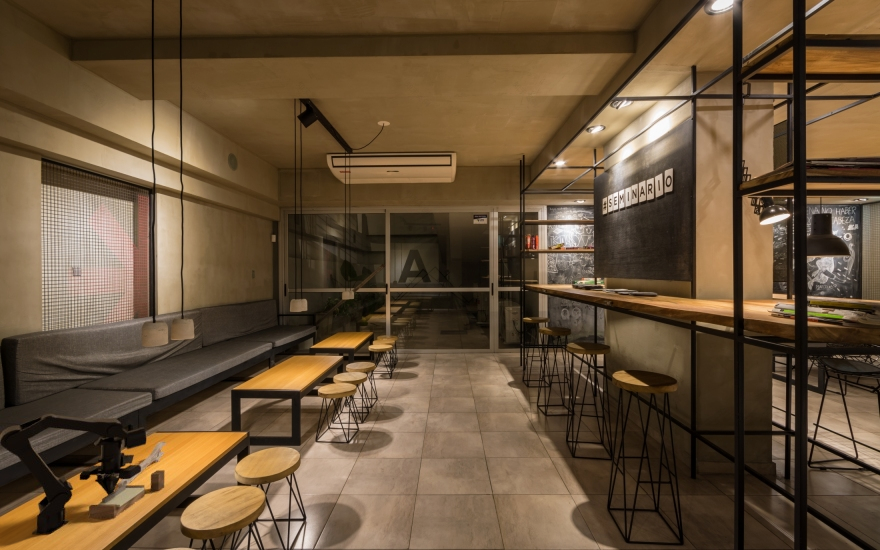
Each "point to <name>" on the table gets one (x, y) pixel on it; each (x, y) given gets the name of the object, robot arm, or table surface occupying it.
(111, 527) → the table surface
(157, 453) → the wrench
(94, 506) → the wooden tray
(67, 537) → the table surface
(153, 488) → the brown rectangular block
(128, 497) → the cream cabinet door
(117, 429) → the robot arm
